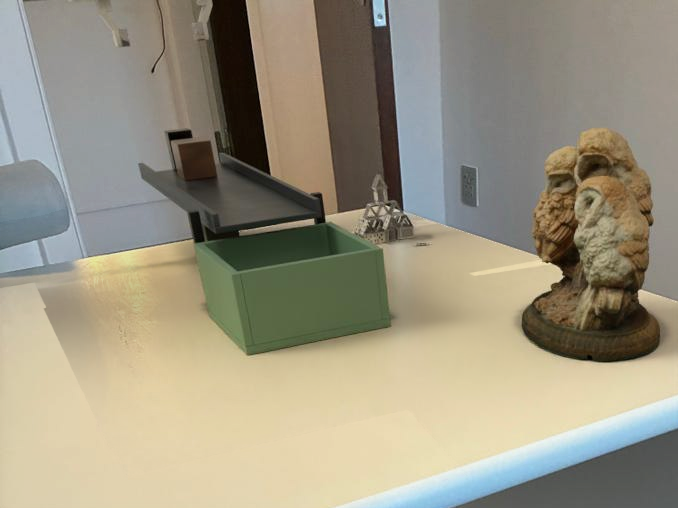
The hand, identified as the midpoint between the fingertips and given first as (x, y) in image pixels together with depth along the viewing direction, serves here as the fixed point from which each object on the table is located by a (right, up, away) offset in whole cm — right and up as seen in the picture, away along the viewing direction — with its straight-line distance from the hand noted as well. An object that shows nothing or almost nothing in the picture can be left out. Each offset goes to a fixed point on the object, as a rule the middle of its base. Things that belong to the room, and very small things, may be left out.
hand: (163, 43), depth 114 cm
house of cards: (+26, -21, +8) cm, 34 cm away
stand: (+11, -30, -4) cm, 32 cm away
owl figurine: (+48, -43, -24) cm, 69 cm away
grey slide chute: (+8, -20, -5) cm, 22 cm away
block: (+3, -14, +3) cm, 15 cm away
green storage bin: (+19, -39, -17) cm, 47 cm away
